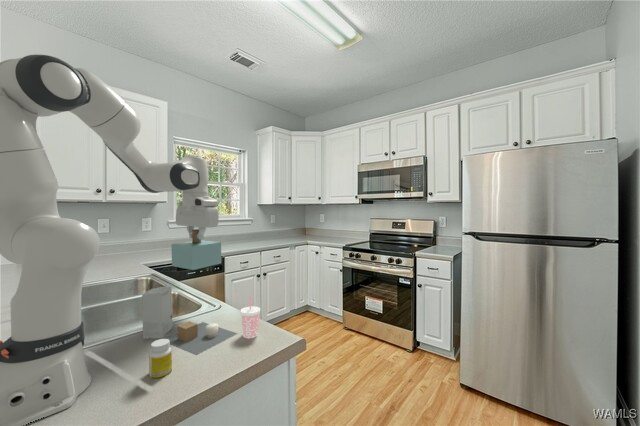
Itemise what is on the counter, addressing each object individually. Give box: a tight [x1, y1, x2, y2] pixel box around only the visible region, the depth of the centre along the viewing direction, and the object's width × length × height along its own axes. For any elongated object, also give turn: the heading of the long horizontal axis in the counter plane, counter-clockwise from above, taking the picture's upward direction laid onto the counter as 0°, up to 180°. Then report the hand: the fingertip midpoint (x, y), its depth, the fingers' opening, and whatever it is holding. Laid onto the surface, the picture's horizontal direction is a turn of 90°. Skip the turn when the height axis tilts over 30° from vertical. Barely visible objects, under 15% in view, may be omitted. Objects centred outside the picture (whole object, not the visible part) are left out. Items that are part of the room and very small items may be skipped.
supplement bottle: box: [148, 338, 173, 379], centre depth 68 cm, size 5×5×8 cm
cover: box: [170, 228, 222, 271], centre depth 103 cm, size 12×12×13 cm
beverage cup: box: [240, 293, 261, 339], centre depth 88 cm, size 6×6×14 cm
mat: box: [162, 321, 239, 356], centre depth 87 cm, size 15×17×5 cm
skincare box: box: [141, 286, 173, 340], centre depth 89 cm, size 8×6×15 cm
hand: (196, 238), depth 102 cm, fingers closed on cover, 3 cm apart
